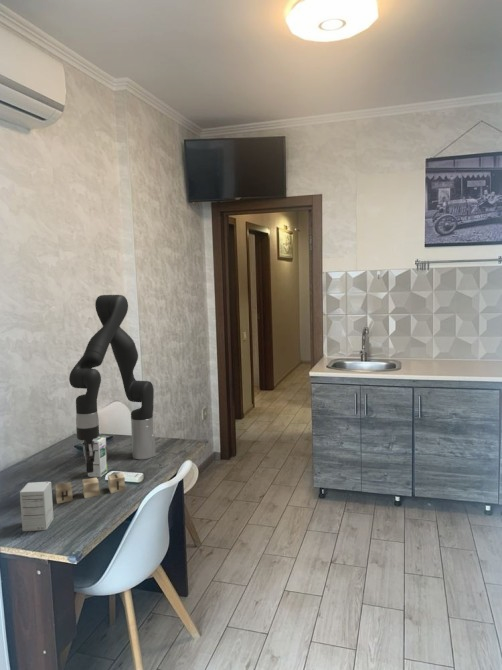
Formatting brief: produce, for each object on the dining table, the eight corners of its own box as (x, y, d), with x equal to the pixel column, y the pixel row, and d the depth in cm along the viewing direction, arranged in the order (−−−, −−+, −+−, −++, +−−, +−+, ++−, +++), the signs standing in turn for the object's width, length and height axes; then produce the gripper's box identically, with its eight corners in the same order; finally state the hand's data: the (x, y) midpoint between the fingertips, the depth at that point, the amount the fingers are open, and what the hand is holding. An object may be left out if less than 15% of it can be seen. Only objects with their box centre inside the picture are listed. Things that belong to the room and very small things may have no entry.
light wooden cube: (71, 495, 173) (70, 481, 173) (72, 501, 169) (71, 487, 168) (56, 498, 171) (55, 484, 170) (57, 504, 166) (56, 490, 166)
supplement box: (30, 520, 155) (27, 482, 154) (54, 518, 156) (52, 480, 154) (21, 531, 148) (18, 491, 146) (46, 530, 148) (44, 490, 147)
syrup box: (101, 477, 189) (99, 441, 187) (87, 476, 190) (85, 440, 188) (108, 472, 194) (106, 436, 193) (94, 471, 195) (92, 436, 194)
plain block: (97, 490, 177) (96, 477, 177) (99, 495, 173) (98, 482, 172) (82, 493, 175) (82, 479, 174) (84, 498, 170) (83, 484, 170)
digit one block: (122, 485, 181) (121, 472, 180) (125, 490, 176) (124, 477, 176) (108, 488, 179) (107, 474, 178) (111, 493, 174) (110, 479, 174)
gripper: (101, 427, 167) (103, 476, 169) (95, 418, 179) (97, 464, 180) (78, 430, 164) (81, 480, 165) (74, 421, 175) (76, 467, 177)
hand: (89, 471), depth 173 cm, fingers closed
